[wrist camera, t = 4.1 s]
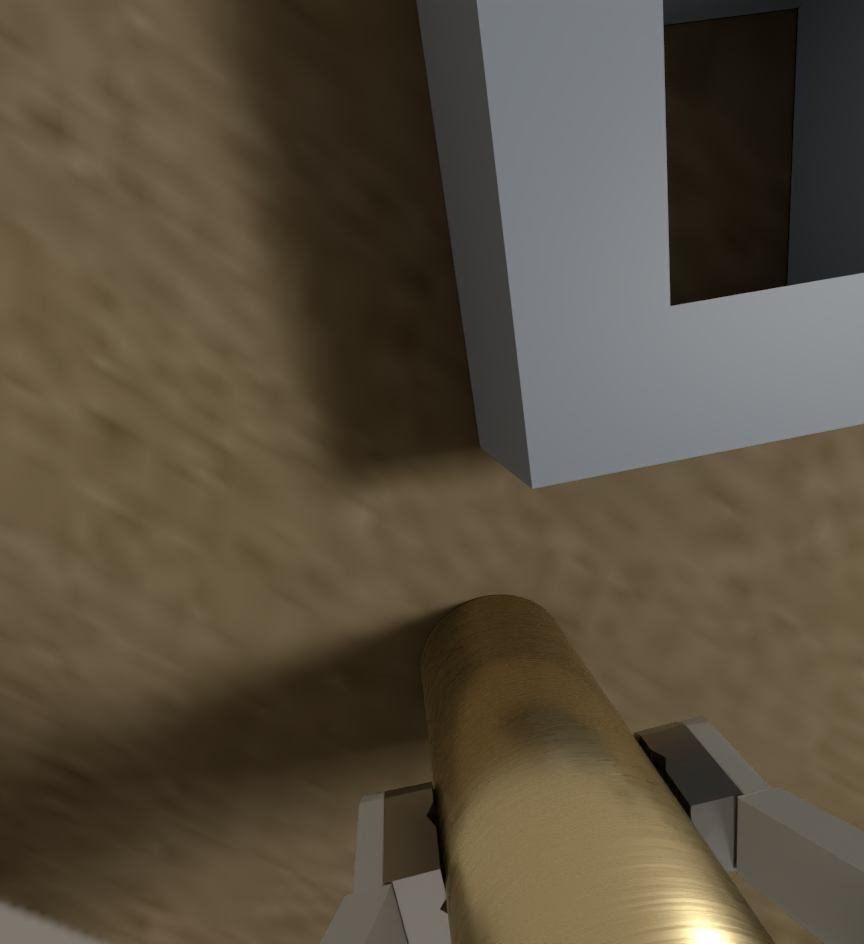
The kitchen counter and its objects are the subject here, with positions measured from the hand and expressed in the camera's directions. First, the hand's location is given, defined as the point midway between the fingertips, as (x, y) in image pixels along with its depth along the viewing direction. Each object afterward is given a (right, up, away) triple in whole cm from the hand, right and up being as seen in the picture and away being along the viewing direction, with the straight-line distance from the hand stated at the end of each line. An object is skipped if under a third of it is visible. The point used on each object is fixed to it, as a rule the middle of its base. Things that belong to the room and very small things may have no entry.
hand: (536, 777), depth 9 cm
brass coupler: (0, +1, +4) cm, 4 cm away
